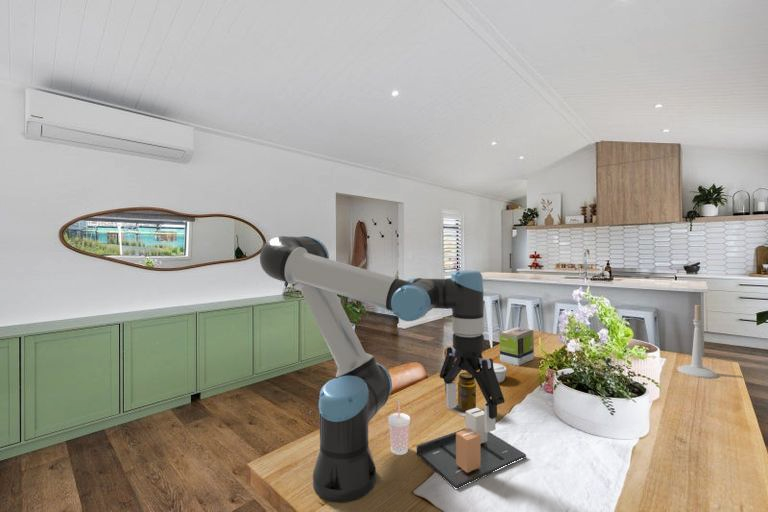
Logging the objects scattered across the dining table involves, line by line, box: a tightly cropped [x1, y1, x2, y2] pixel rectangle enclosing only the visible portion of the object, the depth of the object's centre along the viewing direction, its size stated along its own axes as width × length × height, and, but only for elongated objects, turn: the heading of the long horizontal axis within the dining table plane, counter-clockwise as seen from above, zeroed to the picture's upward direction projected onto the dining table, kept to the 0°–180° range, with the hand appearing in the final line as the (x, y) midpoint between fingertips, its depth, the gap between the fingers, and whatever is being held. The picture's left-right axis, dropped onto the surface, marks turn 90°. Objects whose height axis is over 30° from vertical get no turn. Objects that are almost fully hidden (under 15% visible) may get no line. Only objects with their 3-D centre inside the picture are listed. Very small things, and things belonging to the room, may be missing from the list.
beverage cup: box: [387, 399, 411, 456], centre depth 97 cm, size 6×6×14 cm
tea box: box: [499, 326, 535, 367], centre depth 171 cm, size 15×10×15 cm
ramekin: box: [493, 362, 507, 384], centre depth 148 cm, size 11×11×5 cm
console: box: [416, 427, 527, 489], centre depth 94 cm, size 24×16×2 cm, turn 119°
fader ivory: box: [465, 407, 487, 443], centre depth 99 cm, size 4×4×8 cm
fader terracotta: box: [456, 428, 481, 473], centre depth 88 cm, size 4×4×8 cm
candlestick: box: [677, 303, 718, 379], centre depth 152 cm, size 13×13×30 cm
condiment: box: [449, 372, 477, 418], centre depth 121 cm, size 7×8×12 cm
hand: (469, 418), depth 87 cm, fingers open, 13 cm apart
